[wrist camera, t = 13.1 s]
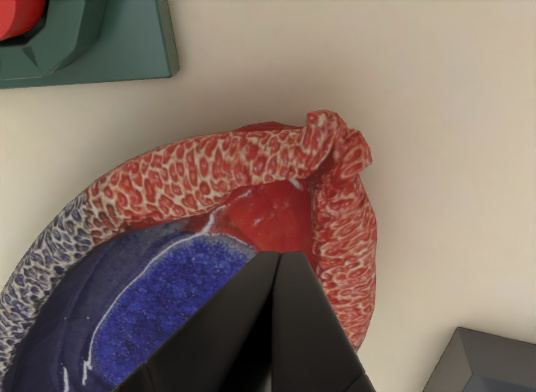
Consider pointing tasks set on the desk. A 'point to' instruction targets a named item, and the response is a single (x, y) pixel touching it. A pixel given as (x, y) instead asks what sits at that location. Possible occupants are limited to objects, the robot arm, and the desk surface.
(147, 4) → the button block
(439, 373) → the rotary dial box
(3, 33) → the button
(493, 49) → the desk surface
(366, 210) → the dish
